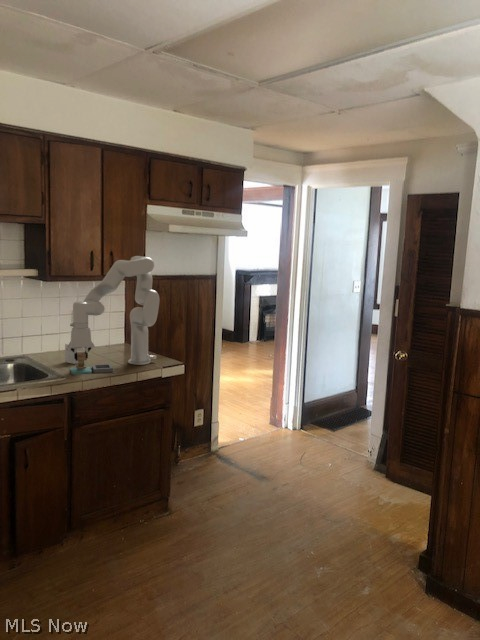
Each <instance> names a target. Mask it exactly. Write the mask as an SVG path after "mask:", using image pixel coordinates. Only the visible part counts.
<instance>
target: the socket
mask: <svg viewBox="0 0 480 640" xmlns="http://www.w3.org/2000/svg"><path fill="white" fill-rule="evenodd" d="M91 370H92V372H93V374H101V373H102V374H103V373H104V374H105V373H114V372H115V371H114V367H113V365H112V363H103V364H102V363H100V364H99V363H98V364H91Z"/></svg>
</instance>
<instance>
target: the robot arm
mask: <svg viewBox="0 0 480 640" xmlns="http://www.w3.org/2000/svg"><path fill="white" fill-rule="evenodd" d="M129 259H130V260H126V259H119V260H116V261H115V262H113V264H112V266H111V267H110V269H109V270H108V272H107V273H106V275H105V276H104V278H103V279H102V281H101V282H99V283H98V284H96V285H95V286H94V287H93V288H92V289H91V290H90V291H89V292H88V293H87V295H86V297H85V298H84V299H83V301H74V302H73V303H72V323H69V326H70V327H71V333H70V341H69V342H68V343H69V344H68V346H67V348H68V349H70V350H72V351H73V352H74V359H76V361H78V360H77V348H82V349H84V351H85V354H86V360H85V361H87V359H88V358H89V357H88V356H89V355H88V354H89V352H90V351H91V350H93V349H94V348H95V347H96V346H95V344H94V343H93V341H92V333H91V329H90V327H89V316H101V315H102V314H104V312H105V305H104V304H103V302H101V301H100V300H101V299H102V298H103V297H104V296H106V295H109V294H111V293H113V292H115V291H116V290H117V289H118V288H119V286H120V285H121V283H122V282H123V280H124V279H125V277H127V278H128V277H129V278H131V277H132V278H133V277H135V276H136V287H135V293H134V301H135V303H137V304H138V305H141V307H140V306H137V307H133V308H132V309H131V310H130V313H129V321H130V358H129V359H128V361H127V362H128V364H129V365H137V366H140V365H141V366H143V365H149V364H151V363H152V362H151V361H152V360H156V359H157V355H152V354H151V355H150V354H149V327H153V326H154V325H155V323H156V321H157V319H158V315H159V309H160V308H159V307H160V295H159V293H158V291H156V290H154V289H152V288H153V275H152V271H153V270H154V268H155V262H154V260H153V259H152V258H151V257H148V256H141V255H135V256H132V257H130V258H129ZM142 306H143V307H142ZM72 347H73V348H74V349H73V348H72Z"/></svg>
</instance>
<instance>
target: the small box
mask: <svg viewBox="0 0 480 640" xmlns="http://www.w3.org/2000/svg"><path fill="white" fill-rule="evenodd" d="M69 343H70V342H68V343H65V345H64V346H65V347H64V356H65V363H69V364H72V365H73V364H74V365H78V361H76V359H74V352H73V351H72V350H70V349H68V348H67V346H68V344H69ZM72 348H73V347H72ZM73 349H74V348H73ZM77 351H84V348H77Z"/></svg>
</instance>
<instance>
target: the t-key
mask: <svg viewBox="0 0 480 640" xmlns="http://www.w3.org/2000/svg"><path fill="white" fill-rule="evenodd" d="M77 360H78V364H76V366H75V367H76V368H77V369H85V368H86V367H87V365H86V364H85V361H87V360H86V354H85V350H83V351H77Z"/></svg>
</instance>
